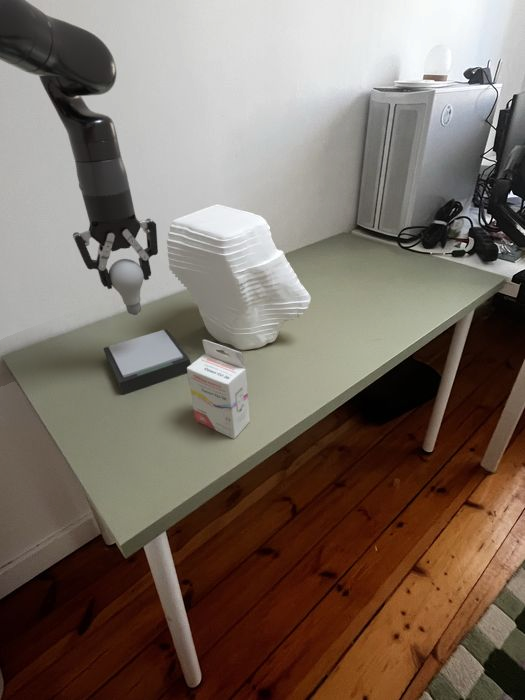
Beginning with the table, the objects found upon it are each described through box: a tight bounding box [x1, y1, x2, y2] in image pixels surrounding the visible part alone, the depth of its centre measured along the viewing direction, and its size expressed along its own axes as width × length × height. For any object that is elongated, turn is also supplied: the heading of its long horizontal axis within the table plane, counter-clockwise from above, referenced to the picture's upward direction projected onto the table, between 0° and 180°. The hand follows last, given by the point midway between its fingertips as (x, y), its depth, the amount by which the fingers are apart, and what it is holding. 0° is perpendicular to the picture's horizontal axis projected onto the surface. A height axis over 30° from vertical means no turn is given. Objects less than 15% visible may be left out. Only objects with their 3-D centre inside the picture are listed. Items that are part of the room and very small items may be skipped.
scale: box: [102, 328, 192, 396], centre depth 89 cm, size 14×14×4 cm
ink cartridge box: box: [187, 339, 251, 440], centre depth 70 cm, size 9×5×15 cm, turn 58°
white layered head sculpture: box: [166, 203, 312, 351], centre depth 91 cm, size 21×27×26 cm
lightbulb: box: [108, 258, 144, 316], centre depth 80 cm, size 6×6×11 cm
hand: (127, 282), depth 79 cm, fingers closed on lightbulb, 6 cm apart
